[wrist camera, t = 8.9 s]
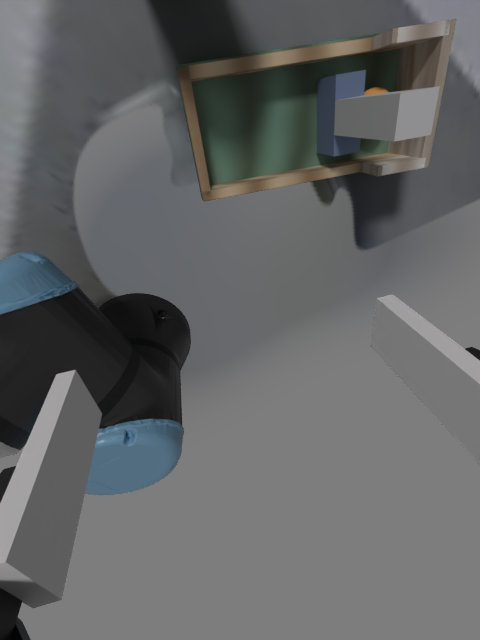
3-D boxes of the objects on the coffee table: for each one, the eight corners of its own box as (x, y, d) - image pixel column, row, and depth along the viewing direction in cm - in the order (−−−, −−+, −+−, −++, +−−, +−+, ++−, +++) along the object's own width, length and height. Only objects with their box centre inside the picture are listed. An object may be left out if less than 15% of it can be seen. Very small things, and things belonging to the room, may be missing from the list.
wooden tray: (201, 197, 39) (207, 213, 33) (175, 67, 32) (176, 53, 25) (386, 163, 41) (427, 171, 34) (402, 31, 34) (457, 11, 27)
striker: (317, 152, 37) (390, 170, 25) (317, 79, 33) (405, 56, 21) (340, 148, 37) (425, 163, 25) (343, 75, 33) (446, 49, 21)
